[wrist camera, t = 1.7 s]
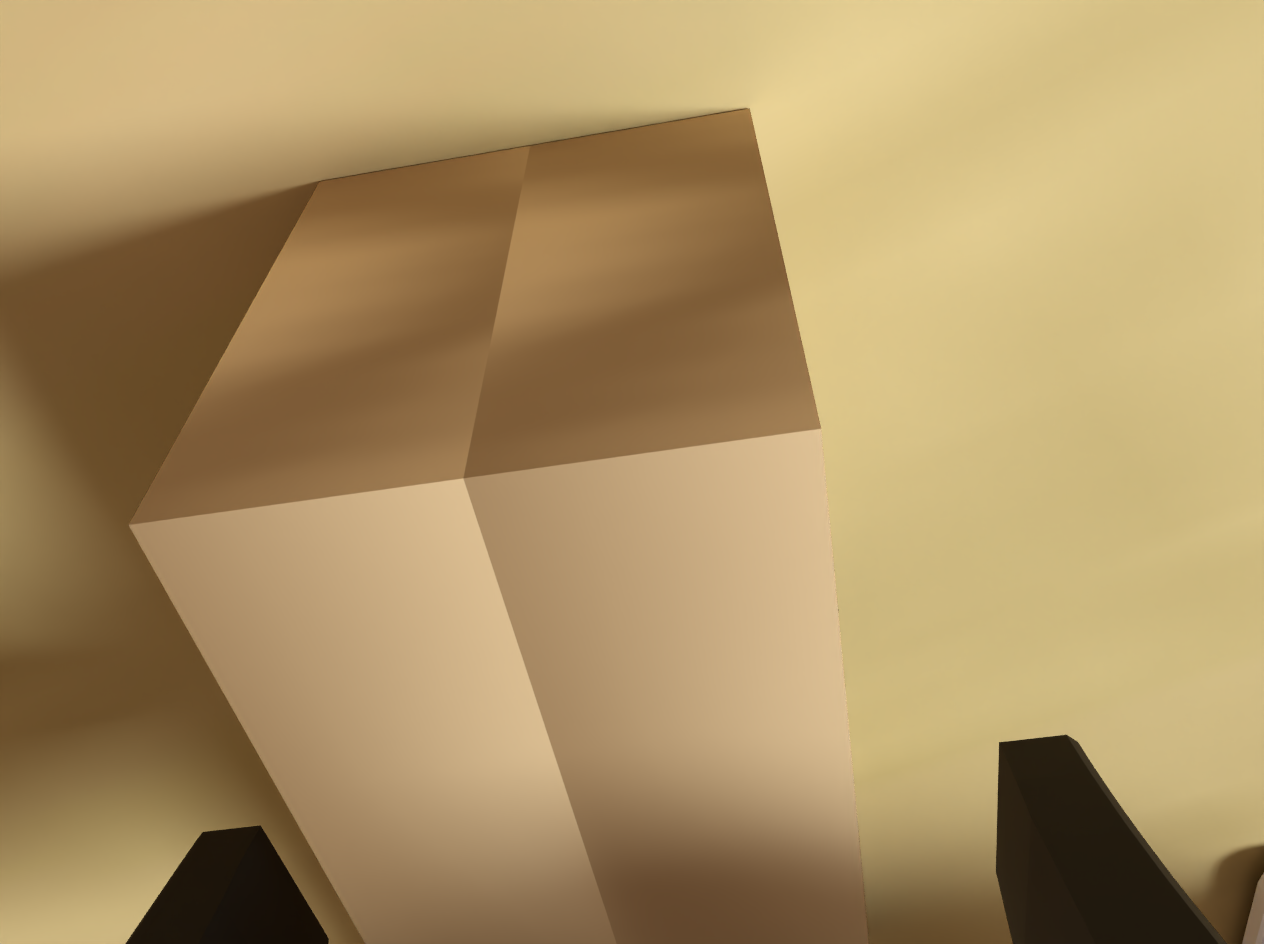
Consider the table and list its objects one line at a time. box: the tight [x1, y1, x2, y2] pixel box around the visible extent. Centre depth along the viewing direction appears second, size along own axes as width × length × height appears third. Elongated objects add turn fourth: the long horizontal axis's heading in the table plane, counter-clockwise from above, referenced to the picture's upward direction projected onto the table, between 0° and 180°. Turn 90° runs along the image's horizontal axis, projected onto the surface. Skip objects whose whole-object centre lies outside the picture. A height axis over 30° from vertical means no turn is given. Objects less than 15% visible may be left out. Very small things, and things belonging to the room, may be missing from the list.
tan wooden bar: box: [129, 108, 869, 944], centre depth 12 cm, size 4×14×5 cm, turn 10°
